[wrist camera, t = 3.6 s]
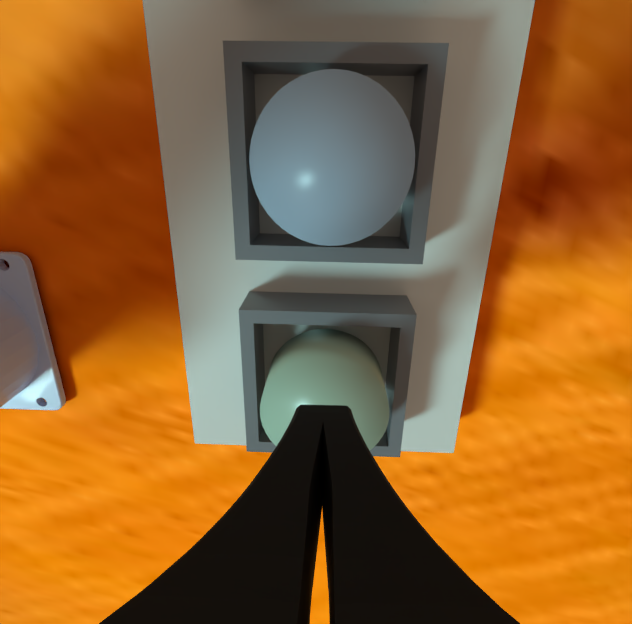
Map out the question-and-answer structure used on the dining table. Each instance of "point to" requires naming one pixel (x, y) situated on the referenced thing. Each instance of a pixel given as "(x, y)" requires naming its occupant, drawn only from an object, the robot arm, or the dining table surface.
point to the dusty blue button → (332, 157)
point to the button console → (343, 260)
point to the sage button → (325, 382)
